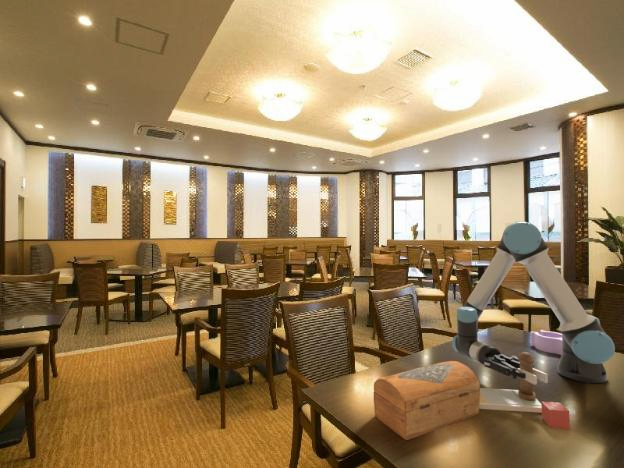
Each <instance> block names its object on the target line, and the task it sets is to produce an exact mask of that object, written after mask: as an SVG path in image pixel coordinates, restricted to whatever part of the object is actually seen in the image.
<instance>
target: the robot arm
mask: <svg viewBox="0 0 624 468" xmlns="http://www.w3.org/2000/svg"><path fill="white" fill-rule="evenodd" d="M549 249H550V248H549V245H548V244H547V243H546V241H545V240H544V238H543V237H542V234H541V231H540V229H539V228H538V227H537V226H536V224H533V223H531V222H529V221H523V220H522V221H516V222H513V223H511V224H509V225H507V226H506V228H505V229H504V231H503V233H502V236H501V239H500V242H499V243H498V245H497V246H496V252H495V255H494V256H493V258H492V259H491V261H490V263H489V264H488V266H487V267H486V269H485V271H484V273H483V274H482V275H481V277H480V278H479V281H478V282H477V284H476V285H475V287H474V289H473V291H472V292H471V293H470V295H469V296H468V298H467V300H466V302H465V303H464V305H463V306H460V307H458V308H457V309H456V323H457V324H456V327H457V330H456V331H457V332H456V335H455V336H453V339H452V341H451V345H452V348H453V350H454V351H455V352H457V353H459V354H460V355H462V356H463V357H467V358H468V359H471V360H473V361H475V362H476V363H478V364H479V365H482V366H484V368H488V369H491V370H493V371H495V372H498V373H500V374H502V375H504V376H507V377H511V376H512V379H515V380H516V379H517V378H519V379H520V378H522V379H524V380H526V381H528V382H530V383H532V384H533V386H534V385H536V386H537V385H538V381H540V382H543V383H545V384H548V382H549V379H548V378H549V377H548V373H546V372H543V371H541V370H538V369H537V368H535V365H534V364H533V374H532V373H529V372H527V371H525V370H522V369H520V362H519V360H518V356H516V355H511V357H509V356H507V355H505V354H503V353H501V352H500V350H499V349H497V348H496V347H493V346H491V345H489V344H487V343H484V342H482V341H479V340H478V337H479V336H478V321H479V319H480V317H481V315H482V314H483V311H484V310H485V309H486V307H487V305H488V304H489V303H490V301H491V300H492V298H493V296H495V294H496V292H497V290H498V288H499V287H500V286H501V284H502V282H503V281H504V279H505V277H506V276H508V275H507V274H508V273H509V272H510V270H511V268H512V267H513V266H514V263H518V264H520V265H523V266H524V267H525V270H526V271H527V273H528V274H529V276H530V277H531V280H533V282H534V284H535V285H536V287H537V289H539V291H540V292H541V295H542V296H543V298H544V299H545V300H546V302H547V304H548V305H549V307H550V308H551V310H552V311H553V313H554V314H555V317H557V319H558V321H559V323H560V324H559V327H558V330H559V332H560V333H561V334H562V349H563V350H562V351H563V352H562V355H560V358H559V361H558V363H557V373H558V374H560V375H561V376H563V377H565V378H567V379H569V380H574V381H577V382H582V383H587V384H603V383H606V382H607V381H608V373H607V371H606V368H605V366H604V364H603V363H606V362H608V361H610V360H611V359H612V358H613V356H614V355H615V351H616V347H615V346H616V345H615V343H614V341H613V339H612V338H611V337H610V336H609V335H608V334H607V333H606V331H604V329H603V327H602V326H601V322H600V319H599V318H598V317H595V316H594V315H591V314H588V313H587V312H586V311H585V309H584V307H583V306H582V305H581V303H580V302H579V300H578V298H577V297H576V295H575V294H574V292H573V291H572V289H571V288H570V286H569V285H568V283H567V281H565V278H564V277H563V276H562V274H561V273H560V271H559V270H558V268H557V266H556V265H555V264H554V262H553V261H552V259H551V257H550V256H549V254H548V252H549Z"/></svg>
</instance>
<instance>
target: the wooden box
mask: <svg viewBox="0 0 624 468" xmlns="http://www.w3.org/2000/svg"><path fill="white" fill-rule="evenodd" d="M480 388H481V381H480V380H479V379H478V377H477V376H476V374H475V372H474V371H473V370H472V369H471V368H470V367H469V366H467V365H466V364H464V363H462V362H460V361H457V360H450V361H448V360H447V361H442V362H438V363H434V364H430V365H426V366H422V367H417V368H413V369H410V370H406V371H402V372H398V373H394V374H391V375H388V376H387V375H386V376H383V377H381V378H377V379H376V380H375V381H374V383H373V407H374V408H373V409H374V416H375V418H376V419H378V421H380V422H381V423H383V424H384V425H385V426H386V427H388V428H389V429H391V430H392V431H393V433H396V434H397V435H398V436H400V437H401V438H402V439H404V440H405V441H408V440H411V439H415V438H417V437H420V436H423V435H425V434H429V433H430V432H433V431H436V430H439V429H442V428H444V427H447V426H451V425H452V424H455V423H458V422H461V421H463V420H466V419H468V418H469V419H470V418H471V417H474V416H477V415H479V414H480V409H479V402H480V398H479V397H480Z"/></svg>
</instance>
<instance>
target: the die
mask: <svg viewBox="0 0 624 468" xmlns="http://www.w3.org/2000/svg"><path fill="white" fill-rule="evenodd" d="M541 404H542V413H541V419H542V420H543V421H544V422H545V423H546V425H548V427H550V428H554V429H555V428H556V429H567V430H568V429H571V428H570V427H571V426H570V425H571V424H570V410H569V409H568V408H566V406H564V405H563V404H562V403H561V402H556V401H555V402H554V401H541Z"/></svg>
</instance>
